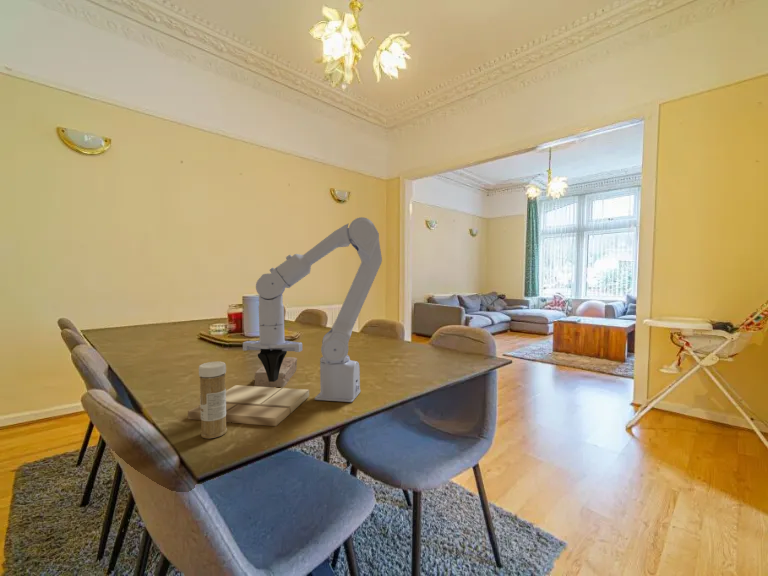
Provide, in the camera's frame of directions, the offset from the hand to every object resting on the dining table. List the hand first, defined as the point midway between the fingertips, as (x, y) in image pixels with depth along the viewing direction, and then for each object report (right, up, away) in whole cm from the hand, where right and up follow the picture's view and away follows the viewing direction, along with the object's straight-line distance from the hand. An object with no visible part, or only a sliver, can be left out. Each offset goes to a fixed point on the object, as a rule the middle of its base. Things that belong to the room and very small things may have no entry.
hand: (273, 380), depth 83 cm
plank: (-2, -5, -1) cm, 5 cm away
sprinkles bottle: (-6, -6, -18) cm, 19 cm away
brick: (-4, -5, +17) cm, 18 cm away
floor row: (-4, -5, -10) cm, 12 cm away
